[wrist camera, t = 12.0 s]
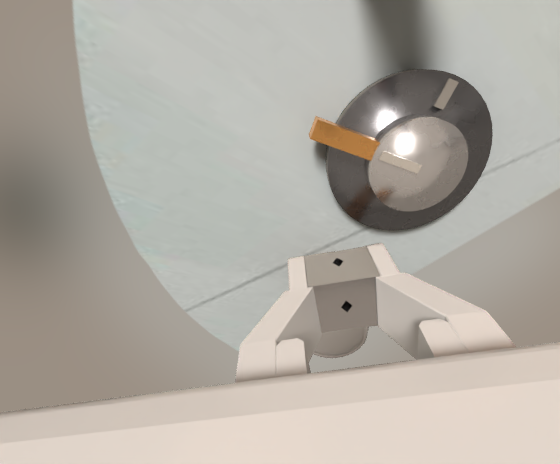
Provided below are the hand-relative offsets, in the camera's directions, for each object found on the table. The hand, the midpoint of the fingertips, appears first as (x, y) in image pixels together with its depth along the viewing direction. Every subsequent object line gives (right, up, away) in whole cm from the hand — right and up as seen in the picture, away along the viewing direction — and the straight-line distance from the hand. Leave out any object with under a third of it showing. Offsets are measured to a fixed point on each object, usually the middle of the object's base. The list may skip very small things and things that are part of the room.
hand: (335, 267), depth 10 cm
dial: (+11, +11, +27) cm, 31 cm away
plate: (+14, +11, +29) cm, 35 cm away
